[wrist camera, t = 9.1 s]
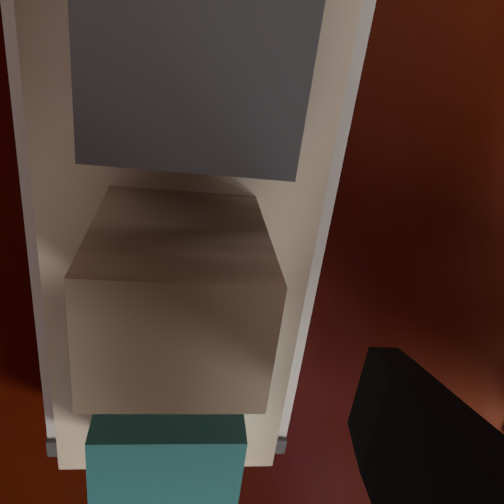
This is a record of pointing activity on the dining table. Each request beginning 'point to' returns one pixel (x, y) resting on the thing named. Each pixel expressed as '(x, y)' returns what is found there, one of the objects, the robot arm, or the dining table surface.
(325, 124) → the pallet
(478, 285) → the dining table surface
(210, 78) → the grey cube
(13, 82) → the dock
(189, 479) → the block
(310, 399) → the dining table surface
